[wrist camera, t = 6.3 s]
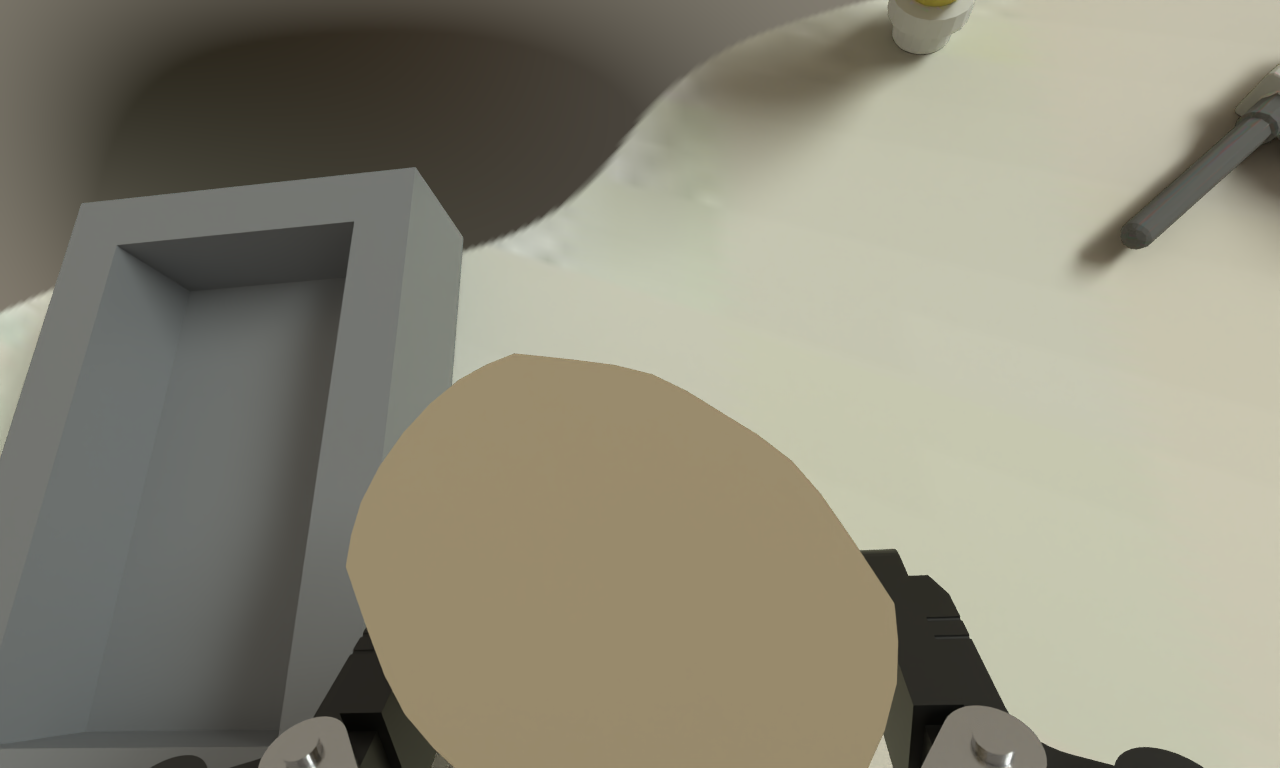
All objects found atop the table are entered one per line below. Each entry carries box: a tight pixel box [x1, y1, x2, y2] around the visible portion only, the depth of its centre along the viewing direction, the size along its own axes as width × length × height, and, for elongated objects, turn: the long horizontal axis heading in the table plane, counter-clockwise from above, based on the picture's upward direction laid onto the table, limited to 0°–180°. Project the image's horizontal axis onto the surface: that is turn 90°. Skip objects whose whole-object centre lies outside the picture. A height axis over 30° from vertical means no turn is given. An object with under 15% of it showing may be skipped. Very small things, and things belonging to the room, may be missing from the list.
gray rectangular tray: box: [0, 167, 463, 768], centre depth 23 cm, size 20×13×4 cm, turn 1°
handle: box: [346, 354, 898, 768], centre depth 15 cm, size 5×6×15 cm
